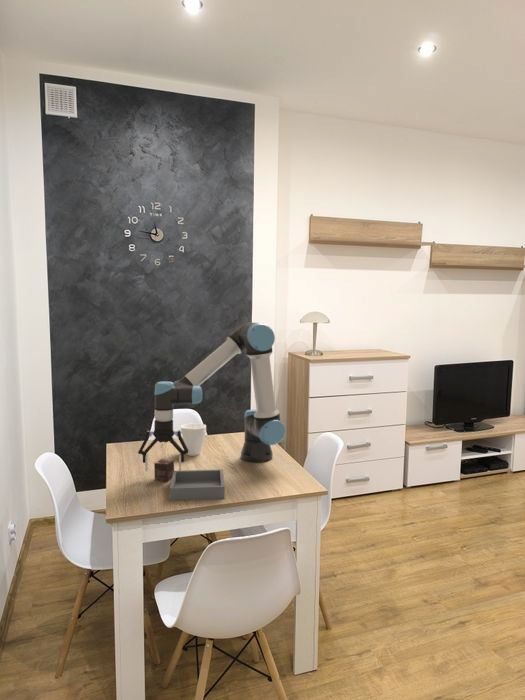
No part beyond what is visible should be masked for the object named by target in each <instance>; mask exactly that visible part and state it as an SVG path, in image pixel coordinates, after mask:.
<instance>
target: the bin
mask: <svg viewBox="0 0 525 700" xmlns="http://www.w3.org/2000/svg"><path fill="white" fill-rule="evenodd" d="M170 481H171V482H170V485H169V501H170V502H174V501H197V500H224V499H225V478H224V469H223V468H221V469H217V468H216V469H194V470H193V469H192V470H191V469H188V470H187V469H185V470H182V469H181V471H179V470H174V471H173V476H172V479H170Z"/></svg>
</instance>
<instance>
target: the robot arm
mask: <svg viewBox="0 0 525 700" xmlns="http://www.w3.org/2000/svg"><path fill="white" fill-rule="evenodd" d="M275 336H276V335H275V332H274V331H273V328H271V327H270V326H269V325H268V324H266V323H263V322H251V321H250V322H246V323H243V324H242V325H240V326H239V327H238V328H236V329H235V330H234V331H233V332H232V333H230V334H229V335H227V336H226V340H225V342H223V343H222V344H221V345H220V346H219V347H217V348H216V349H215V350H214V351H213V352H212V353H211V354H209V355H208V356H207V357H205V359H203V360H201V362H200V363H198V364H197V365H196V366H195V367H194V368H193V369H191V370H190V371H189V372H188V373H186V374H185V375H184V376H183V377H181V378H180V379H179V380H176V381H174V382H172V381H158V382H157V381H156V383H155V385H154V427H153V428H154V430H152V431H151V430H147V431H146V434H145V435H146V436H145V438H144V440H143V442H142V444H141V446H140V448H139V450H138V452H137V453H138V455H142V463H144V464H145V472H148V470H149V453H148V452H150V450H151V449H152V448H153V447H154V446H155V445H156V444H157V442H159V443H170V444H171V445H172V446H173V447H174V448H175V449H176V450H177V451H178V453H179V455H178V471H182V463H184V462H185V455H187V453H188V451H189V450H188V448H187V446H186V444H185V442H184V440H183V437H182V434H181V429H180V430H176V431H175V430H174V420H173V419H174V406H175V405H197V404H200V403H202V400H203V389H202V387H201V385H202V384H203V383H204V382H205V381H207V380H208V379H209V378H210V377H211V376H212V375H214V374H215V373H216V372H217V371H218V370H220V369H221V368H222V367H223V366H224V365H225V364H227V363H228V362H229V361H230V360H232V359H233V358H234V357H235V356H236V355H237V354H238V355H239V354H243V352H244V351H245V354H246V356H247V357H248V358H249V359H250V360H249V361H250V366H251V367H250V368H251V376H252V384H253V392H254V400H255V401H254V402H255V408H254V409H247V410H246V411H245V412H244V418H243V419H244V443H243V446H242V448H241V451H240V459H241V460H243V461H245V462H252V463H263V462H268V461H271V460H273V458H272V457H273V454H274V453H273V450H272V446H274V445H275V446H276V445H277V444H279V443H280V442H281V441H282V440H283V438H284V437H285V435H286V426H285V423H283V422H282V421H281V415H280V410H278V409H277V408H276V401H275V393H274V385H273V375H272V365H271V355H272V354H273V345H274V344H275V341H276V337H275ZM174 435H175V437H177V439H178V441H179V443H180V445H179V444H178V442H177V441H176V440H175V439H174ZM152 436H153V437H154V439H153V441H152V442H151V443H150V444H149V445H148V446H147V447H146V448H145V446H146V444H147V443H148V441H149V439H150V438H151V437H152ZM181 446H182V447H181ZM270 459H271V460H270ZM267 460H268V461H267ZM262 461H263V462H262Z"/></svg>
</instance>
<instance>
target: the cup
mask: <svg viewBox="0 0 525 700" xmlns="http://www.w3.org/2000/svg"><path fill="white" fill-rule="evenodd" d="M180 431H181V436H182V438H183V440H184V442H185V444H186V446H187V448H188V450H189V451H188V453H186V455H187V456H193V457H194V456H196V457H197V456H200V455H201V453H202V450H203V445H204V440H205V436H206V433H207V425H206V424H204V423H197V422H195V423H194V422H193V423H185V424H182V425H180Z"/></svg>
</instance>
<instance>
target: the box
mask: <svg viewBox="0 0 525 700" xmlns="http://www.w3.org/2000/svg"><path fill="white" fill-rule="evenodd" d="M153 465H154V481H160V482H169V481H171V480H172V476H173V471H175V460H172V459H165V458H161V459H159V460H158V461H155V462H154V463H153Z"/></svg>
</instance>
